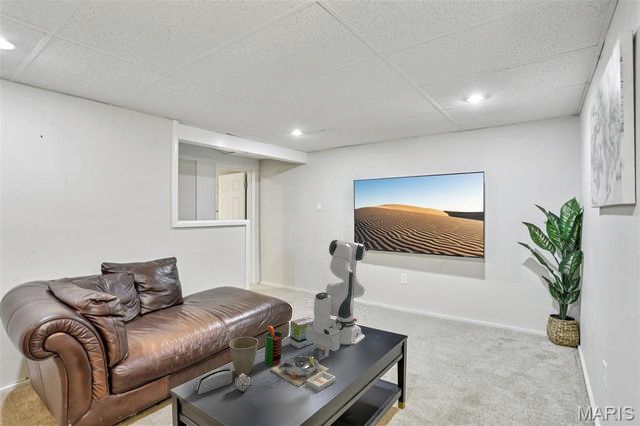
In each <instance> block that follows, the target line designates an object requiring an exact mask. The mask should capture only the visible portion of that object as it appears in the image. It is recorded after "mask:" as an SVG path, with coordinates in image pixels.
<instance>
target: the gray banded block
mask: <svg viewBox="0 0 640 426" xmlns="http://www.w3.org/2000/svg"><path fill="white" fill-rule="evenodd" d="M325 351H326V350H325V347H323V346H319V347H318V348H314V349H313V357H314V360H317V361H321V360H325V359H326V358H328V357H330V350H329V351H328V355H327V356H324V355H323V352H325Z"/></svg>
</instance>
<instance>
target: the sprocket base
mask: <svg viewBox="0 0 640 426" xmlns="http://www.w3.org/2000/svg"><path fill="white" fill-rule="evenodd" d="M303 356H304V355H299V356H298V357H303ZM317 366H319V372H318V373H317V372H315V373H313V374H312V375H311V377H313V376H315V375H317V374H319V373H321V372H322V371H325V372H327V373H328V372H329V370H330V368H329V367H325V366H324V365H322V364H320V363H318V365H317ZM281 368H282V367H281V364H278V365H275V366H274V367H272V368H270V372H272V373H274V374H276V375H278V376H279V377H281V378H282V379H285V380H287V381H288V382H289V383H291V384H293V385H295V386H296V387H301V386H303V385H304V384H306V380H307V379H309V378H311V377H309V378H306V377H296V378H290V375H287V374H286V373H285V374H282V373H281Z"/></svg>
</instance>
